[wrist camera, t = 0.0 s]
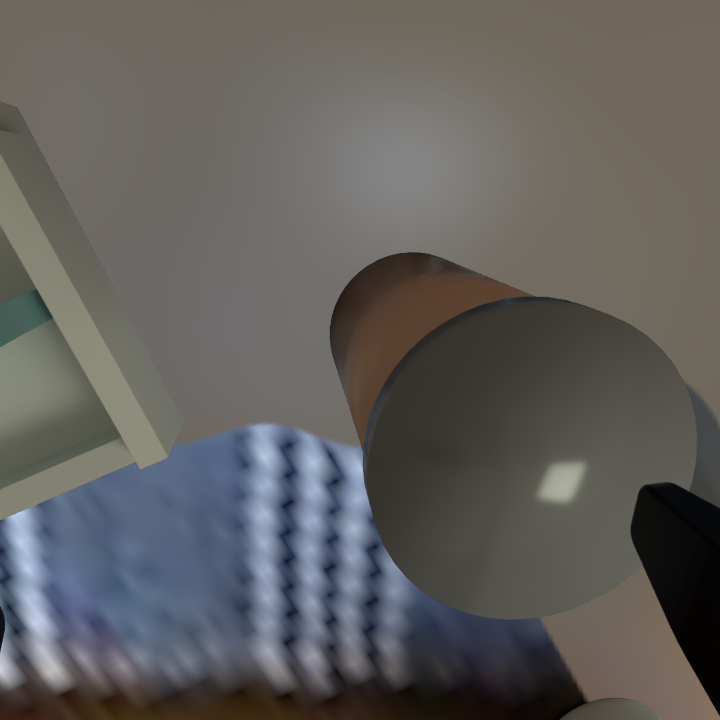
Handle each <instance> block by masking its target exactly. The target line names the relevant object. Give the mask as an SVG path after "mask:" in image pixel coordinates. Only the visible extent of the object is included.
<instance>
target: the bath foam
mask: <svg viewBox="0 0 720 720" xmlns="http://www.w3.org/2000/svg"><path fill="white" fill-rule="evenodd" d="M560 720H663V719H662V718H661V717H660V716H659V715H658V714H657V713H656V712H655V711H654V710H652V709H651V708H649V707H648V706H646V705H644V704H642V703H639V702H637V701H633V700H629V699H623V698H607V699H600V700H596V701H592V702H589V703H586V704H584V705H581V706H579V707H577V708H575V709H574V710H572V711H570V712H569V713H567V714H566V715H564V716H563V717H562V718H561V719H560Z"/></svg>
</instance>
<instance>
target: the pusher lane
mask: <svg viewBox="0 0 720 720" xmlns="http://www.w3.org/2000/svg"><path fill="white" fill-rule="evenodd" d="M36 289H37V290H38V292H39V293H40V295H41V297H42V299H43V300H44V302H45V304H46V306H47V307H48V309H49V311H50V313H51V314H52V316H53V318H52V319H50V320H48V321H47V322H45V323H43V324H41V325H39V326H38V327H36V328H34V329H32V330H30V331H29V332H27V333H25V334H23V335H21V336H20V337H18V338H16V339H14V340H12V341H11V342H9V343H7V344H5V345H3V346H2V347H0V520H2V519H4V518H6V517H9V516H11V515H13V514H16V513H18V512H20V511H23V510H25V509H27V508H30V507H32V506H34V505H37V504H39V503H41V502H44V501H46V500H48V499H51V498H53V497H55V496H58V495H60V494H62V493H65V492H67V491H69V490H72V489H74V488H76V487H79V486H81V485H83V484H86V483H88V482H90V481H92V480H95V479H97V478H99V477H102V476H104V475H106V474H109V473H111V472H113V471H116V470H118V469H120V468H123V467H125V466H127V465H130V464H132V463H134V462H136V463H137V465H138V466H139V468H140V470H141V469H143V468H145V467H148V466H150V465H152V464H155V463H157V462H159V461H162V460H164V459H166V458H168V457H169V455H170V453H171V450H172V448H173V446H174V443H175V441H176V439H177V436H178V434H179V431H180V429H181V427H182V424H183V422H184V419H183V417H182V415H181V413H180V411H179V409H178V408H177V406H176V404H175V402H174V400H173V398H172V396H171V394H170V393H169V391H168V389H167V387H166V385H165V383H164V382H163V380H162V378H161V376H160V374H159V372H158V370H157V368H156V366H155V364H154V363H153V361H152V359H151V357H150V355H149V353H148V351H147V349H146V348H145V346H144V344H143V342H142V340H141V338H140V336H139V335H138V333H137V331H136V329H135V327H134V325H133V323H132V321H131V320H130V318H129V316H128V314H127V312H126V310H125V308H124V307H123V305H122V303H121V301H120V299H119V297H118V295H117V293H116V291H115V290H114V288H113V286H112V284H111V282H110V280H109V279H108V277H107V275H106V273H105V271H104V269H103V267H102V265H101V263H100V262H99V260H98V258H97V256H96V254H95V252H94V250H93V248H92V247H91V245H90V243H89V241H88V239H87V237H86V236H85V233H84V232H83V230H82V228H81V226H80V224H79V222H78V220H77V218H76V217H75V215H74V213H73V211H72V209H71V207H70V205H69V203H68V202H67V200H66V198H65V196H64V194H63V192H62V190H61V188H60V187H59V185H58V183H57V181H56V179H55V178H54V175H53V174H52V172H51V170H50V168H49V166H48V164H47V162H46V161H45V159H44V157H43V155H42V153H41V151H40V149H39V148H38V146H37V144H36V142H35V140H34V138H33V136H32V134H31V132H30V130H29V129H28V127H27V125H26V123H25V121H24V119H23V117H22V115H21V114H20V112H19V110H18V108H16V107H14V106H11V105H8V104H5V103H2V102H0V304H1V303H3V302H6V301H8V300H11V299H13V298H16V297H18V296H21V295H23V294H26V293H28V292H31V291H33V290H36Z"/></svg>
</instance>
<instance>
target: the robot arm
mask: <svg viewBox="0 0 720 720" xmlns="http://www.w3.org/2000/svg"><path fill="white" fill-rule="evenodd" d="M630 533H631V538H632V542H633V545H634V547H635V549H636V551H637V554H638V556H639V558H640V560H641V562H642V565H643V567H644V569H645V571H646V574H647V576H648V578H649V580H650V582H651V585H652V587H653V589H654V591H655V594H656V596H657V598H658V600H659V602H660V605H661V607H662V609H663V612H664V614H665V616H666V618H667V621H668V622H669V625H670V627H671V629H672V631H673V633H674V635H675V637H676V640H677V642H678V643H679V645H680V647H681V649H682V651H683V653H684V654H685V656H686V658H687V660H688V662H689V663H690V665H691V667H692V668H693V670H694V672H695V674H696V676H697V677H698V679H699V681H700V683H701V684H702V686H703V688H704V689H705V691H706V693H707V694H708V696H709V698H710V700H711V702H712V703H713V705H714V707H715V709H716V710H717V712H718V714H719V715H720V508H719V507H717V506H715V505H713V504H712V503H710V502H708V501H706V500H704V499H702V498H701V497H699V496H697V495H695V494H693V493H691V492H689V491H688V490H686V489H684V488H682V487H680V486H678V485H676V484H674V483H671V482H661V483H653V484H646V485H644V486H642V487H641V488H640V490H639V492H638V496H637V500H636V504H635V508H634V513H633V517H632V521H631V526H630ZM4 631H5V618H4V613H3V611H2V609H1V607H0V651H1V646H2V641H3V637H4Z"/></svg>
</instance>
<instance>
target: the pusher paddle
mask: <svg viewBox="0 0 720 720" xmlns="http://www.w3.org/2000/svg"><path fill="white" fill-rule="evenodd" d="M52 318H53V316H52V314H51V313H50V311H49V309H48V307H47V306H46V304H45V302H44V300H43V299H42V297H41V295H40V293H39V292H38V290H37V289H36V290H33V291H31V292H28V293H26V294H23V295H21V296H18V297H16V298H13V299H11V300H8V301H6V302H3V303H1V304H0V347H2V346H3V345H5V344H7V343H9V342H11V341H12V340H14V339H16V338H18V337H20V336H21V335H23V334H25V333H27V332H29V331H30V330H32V329H34V328H36V327H38V326H39V325H41V324H43V323H45V322H47V321H48V320H50V319H52Z"/></svg>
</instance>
